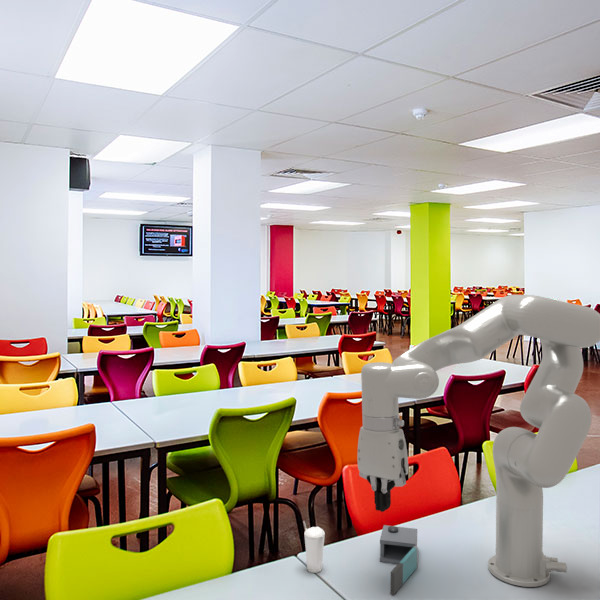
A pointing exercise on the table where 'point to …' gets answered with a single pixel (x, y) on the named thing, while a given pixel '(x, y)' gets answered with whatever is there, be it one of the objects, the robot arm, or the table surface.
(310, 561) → the milkshake
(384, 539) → the camera case
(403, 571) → the door
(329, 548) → the table surface
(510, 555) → the robot arm
